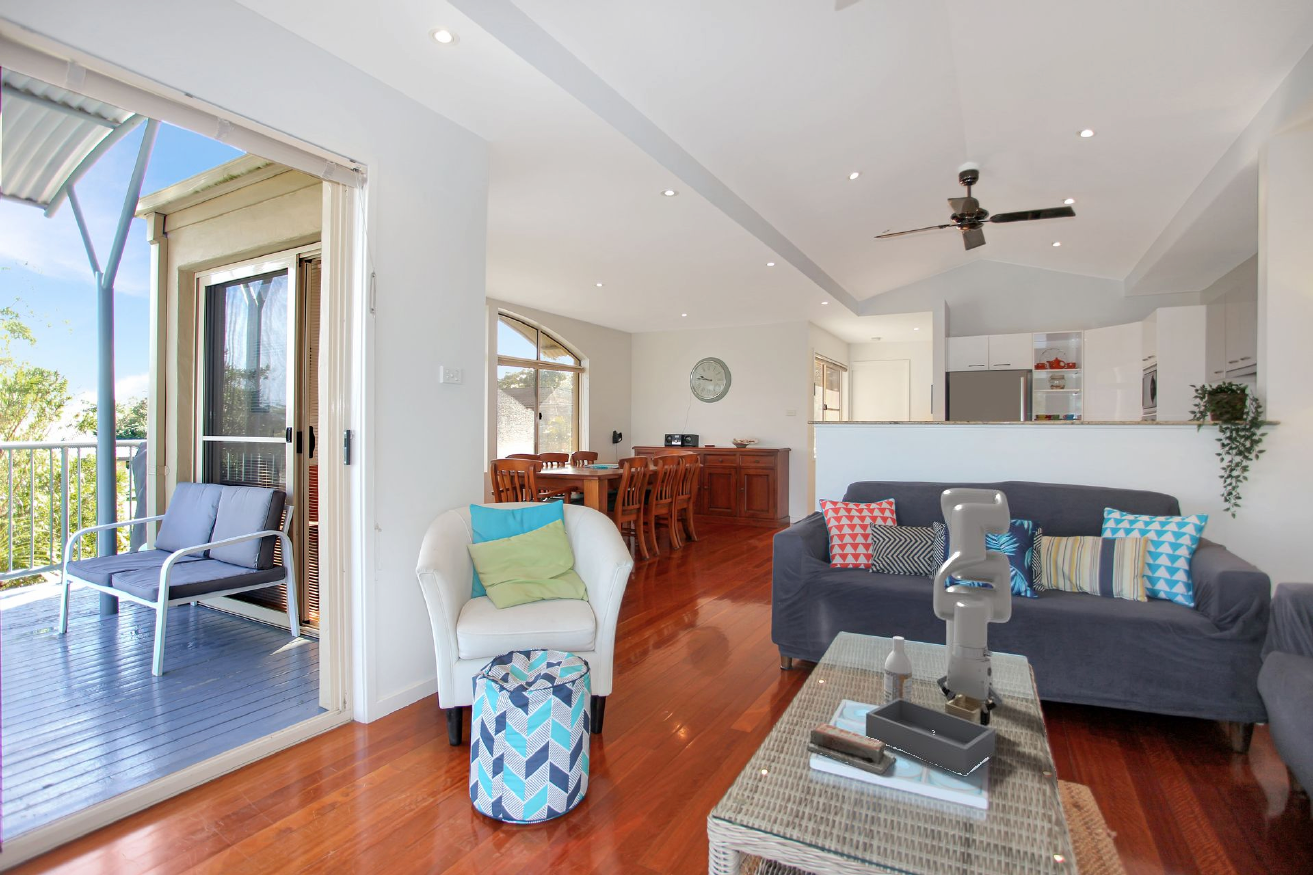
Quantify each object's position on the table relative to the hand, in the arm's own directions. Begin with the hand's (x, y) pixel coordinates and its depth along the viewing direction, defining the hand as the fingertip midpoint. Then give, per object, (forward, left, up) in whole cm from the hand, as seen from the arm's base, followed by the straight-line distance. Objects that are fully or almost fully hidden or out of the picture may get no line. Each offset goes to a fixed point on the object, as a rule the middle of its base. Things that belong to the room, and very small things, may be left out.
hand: (968, 719), depth 163 cm
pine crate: (0, 0, -1) cm, 1 cm away
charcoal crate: (+16, -3, -3) cm, 16 cm away
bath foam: (+3, -18, -3) cm, 18 cm away
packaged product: (+34, -13, -4) cm, 36 cm away
